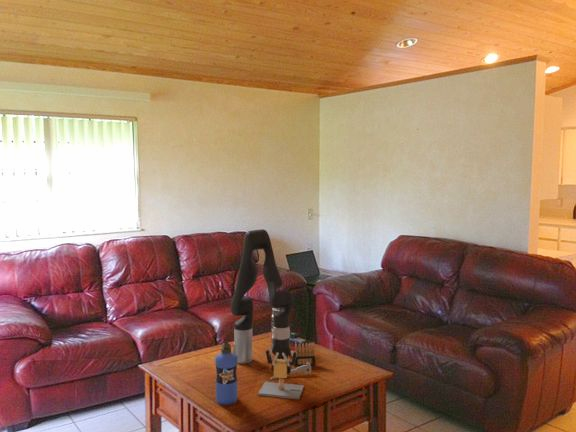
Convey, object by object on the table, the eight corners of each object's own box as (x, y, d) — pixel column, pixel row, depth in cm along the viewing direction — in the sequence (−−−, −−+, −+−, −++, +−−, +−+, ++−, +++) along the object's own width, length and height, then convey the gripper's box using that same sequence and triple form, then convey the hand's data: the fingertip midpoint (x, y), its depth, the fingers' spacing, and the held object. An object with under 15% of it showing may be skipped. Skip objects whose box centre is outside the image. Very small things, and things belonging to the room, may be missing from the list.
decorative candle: (269, 348, 273) (269, 304, 271) (285, 347, 275) (285, 303, 273) (272, 354, 264) (272, 308, 262) (289, 353, 266) (289, 307, 264)
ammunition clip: (314, 364, 251) (314, 341, 250) (315, 365, 249) (315, 342, 248) (293, 365, 250) (293, 342, 249) (294, 366, 248) (294, 343, 247)
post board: (258, 395, 216) (258, 383, 216) (265, 383, 228) (265, 372, 228) (298, 399, 213) (298, 386, 212) (303, 387, 224) (303, 375, 224)
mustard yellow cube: (273, 377, 217) (273, 363, 217) (276, 372, 223) (276, 359, 222) (286, 378, 216) (286, 364, 216) (288, 373, 222) (288, 360, 221)
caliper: (310, 373, 240) (310, 361, 240) (311, 374, 239) (311, 361, 239) (270, 379, 234) (270, 366, 234) (270, 380, 233) (270, 367, 233)
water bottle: (238, 404, 209) (238, 346, 206) (216, 406, 207) (215, 347, 204) (236, 394, 218) (236, 338, 215) (215, 396, 216) (214, 340, 213)
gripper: (263, 337, 216) (263, 375, 217) (295, 339, 213) (295, 378, 214) (267, 332, 223) (267, 368, 225) (299, 334, 220) (299, 371, 222)
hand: (281, 373), depth 220 cm, fingers closed on mustard yellow cube, 5 cm apart
